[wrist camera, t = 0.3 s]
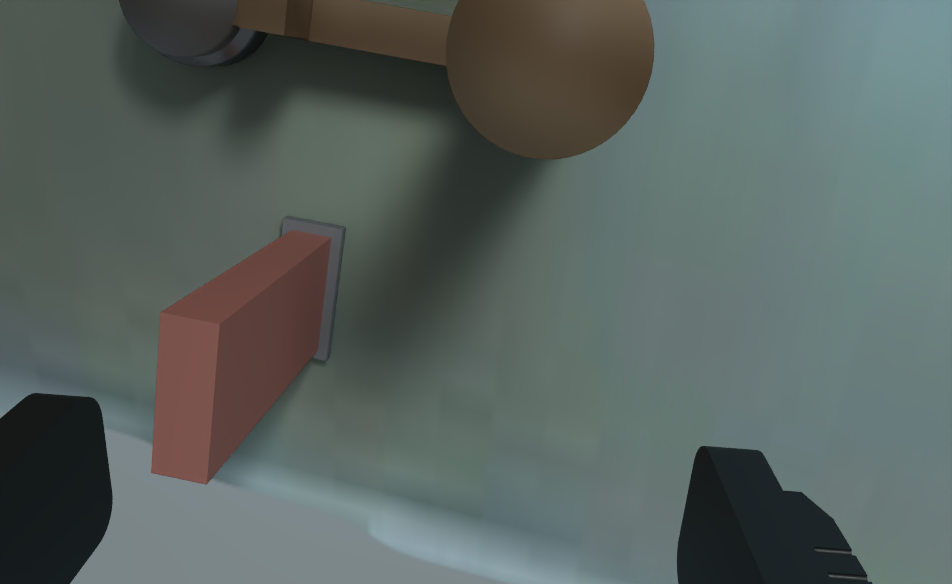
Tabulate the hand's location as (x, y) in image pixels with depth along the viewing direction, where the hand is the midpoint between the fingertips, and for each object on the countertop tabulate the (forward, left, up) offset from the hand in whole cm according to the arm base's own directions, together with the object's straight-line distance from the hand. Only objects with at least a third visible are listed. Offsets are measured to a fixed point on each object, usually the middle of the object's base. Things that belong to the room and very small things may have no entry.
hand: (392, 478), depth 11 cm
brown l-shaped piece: (-6, -7, -28) cm, 29 cm away
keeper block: (+7, -9, -28) cm, 30 cm away
